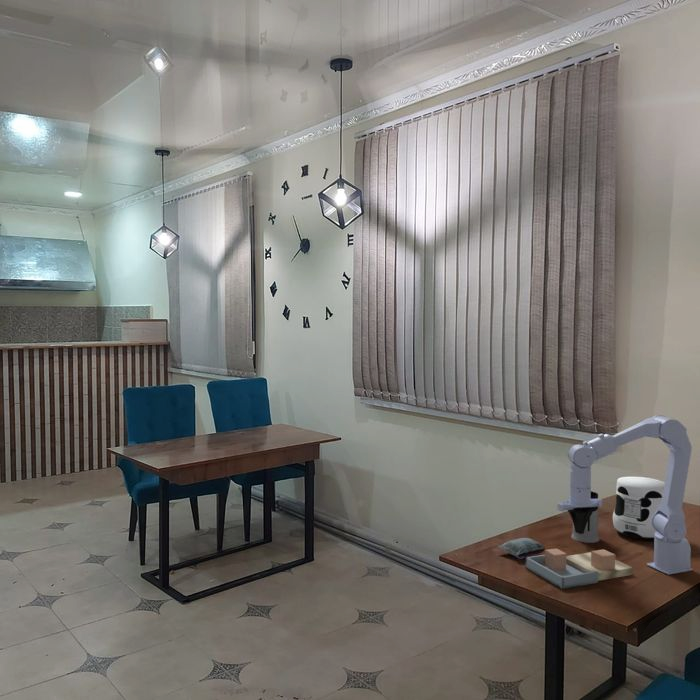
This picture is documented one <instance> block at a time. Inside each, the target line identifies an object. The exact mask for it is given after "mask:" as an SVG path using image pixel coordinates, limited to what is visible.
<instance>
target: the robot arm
mask: <svg viewBox="0 0 700 700" xmlns="http://www.w3.org/2000/svg"><path fill="white" fill-rule="evenodd" d="M687 431H688V429H687V428H686V427H685V425H684V424H682V422H680V421H679V420H677V419H674V418H669V417H667V416H665V415H663V414H656V415H654V416H652V417H648V418H645V419H644V420H642V421H640V422H638V423H636V424H634V425H632V426H630V427H628V428H626V429H623V430H621V431H619V432H618V433H615V434H614V435H611V434H608V433H605V434H604V433H599V434H598V435H597V437H595V438H593V439H591V440H589V441H588V440H585V441H583V442H582V444H579V443H577V444H574V445H573V446H571V447H570V449H569V451H568V452H567V458H568V459H569V461H570V470H569V475H570V476H569V498H568V499H567V500H566V501H562V502H558V503H557V511H559V512H565V511H567V512H568V514H569V515H570V518H571V520H572V525H573V524H574V527H575V532H576V533H579V534H584V531H585V527H586V524H587V522H588V519H589V518H590V516H591V515H592V513H593V510H591V509H589V507H596V506H598V508H599V507H600V508H602V507H603V500H602V499H601V498H598V499H591V491H592V490H591V488H592V485H591V484H592V466H593V464H594V462H595V461H598V460H600V459H603V458H605V457H607V456H610V455H612V454H614V453H617V452H618V451H617V450H618V448H619V447H620V446H622V445H625V444H628V443H631V442H634V441H637V440H639V439H642V438H645V437H646V438H653V439H659V440H661V441H662V442H663V443H664V444H665V445H666V447H667V448H668V449H669V455H668V461H667V467H666V473H665V480H664V482H665V485H664V491H663V497H662V502H661V503H660V504H659V505H658V506H657V510H656V512H655V514H654V515H653V517H652V520H651V523H652V526H653V528H654V529H655V538H654V539H653V541H654V542H653V543H654V548H653V562H648V563H646V565H647V567H650V568H653V569H655V570H656V571H660V572H661V573H664V574H667V575H674V574H680V573H685V572H686V573H687V572H690V571H693V567H691V555H692V553H691V552H692V551H691V550H692V549H691V545H690V542H689V541H688V539H686V538H685V537H686V535H687V533H688V532H687V527H686V526H687V525H686V516H685V513H684V511H683V503H684V497H685V493H686V492H685V491H686V484H687V479H688V475H689V474H688V473H689V467H690V460H691V455H692V449H693V448H692V444H691V441H690V438H689V436H688V433H687Z"/></svg>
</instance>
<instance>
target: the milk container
mask: <svg viewBox="0 0 700 700" xmlns="http://www.w3.org/2000/svg"><path fill="white" fill-rule="evenodd" d="M664 485H665V481H664V480H663V481H662V480H660V479H656V478H652V477H644V476H622V477H618V478H617V480H616V485H615V487H616V490H615V506H614V509H613V513H612V525H613V528H614V529H615V531H617V532H618V533H620V534H622V535H624V536H626V537H630V538H635V539H637V540H638V539H640V540H654V538H655V529H654V528H653V526H652V523H651V520H652V517H653V515H654V514H655V512H656V510H657V506H658V505H659V504H660V503H661V502H662V497H663V491H664Z"/></svg>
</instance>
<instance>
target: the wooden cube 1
mask: <svg viewBox="0 0 700 700" xmlns="http://www.w3.org/2000/svg"><path fill="white" fill-rule="evenodd" d="M544 553H545V554H544V555H545V565H546V566H547V567H549V568H551V569H552V570H554V571H556V570H564V569H566V556H567V553H566V552H564V551H563V550H560V549H559V548H550V549H545V551H544Z"/></svg>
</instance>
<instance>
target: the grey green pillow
mask: <svg viewBox="0 0 700 700" xmlns="http://www.w3.org/2000/svg"><path fill="white" fill-rule="evenodd" d="M497 547H498V548H499V549H500V550H503V551H504V552H506V553H508V554H510V555H511V556H512V557H513V556H514V557H515V558H517V559H519V560H521V559H526V557H532V556H538V555H541V554H542V553H544V552H545V550H546V547H544V545H542V544H541V543H540V542H538V541H536V540H535V539H532V538H529V537H521V538H520V537H519V538H515V539H511V540H508V541H506V542H503V544H497Z"/></svg>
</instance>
